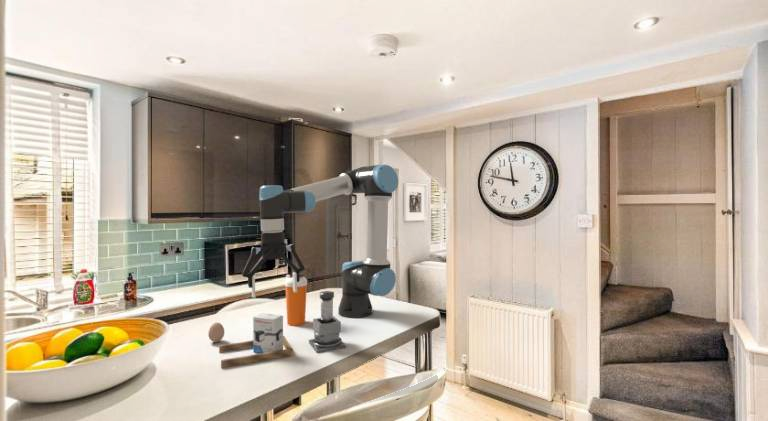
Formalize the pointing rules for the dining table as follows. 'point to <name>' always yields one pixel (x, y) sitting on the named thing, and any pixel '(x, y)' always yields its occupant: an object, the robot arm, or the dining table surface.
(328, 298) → the handle peg
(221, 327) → the egg
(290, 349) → the bay
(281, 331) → the ink box
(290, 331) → the dining table surface
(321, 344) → the peg socket
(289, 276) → the shaker bottle
